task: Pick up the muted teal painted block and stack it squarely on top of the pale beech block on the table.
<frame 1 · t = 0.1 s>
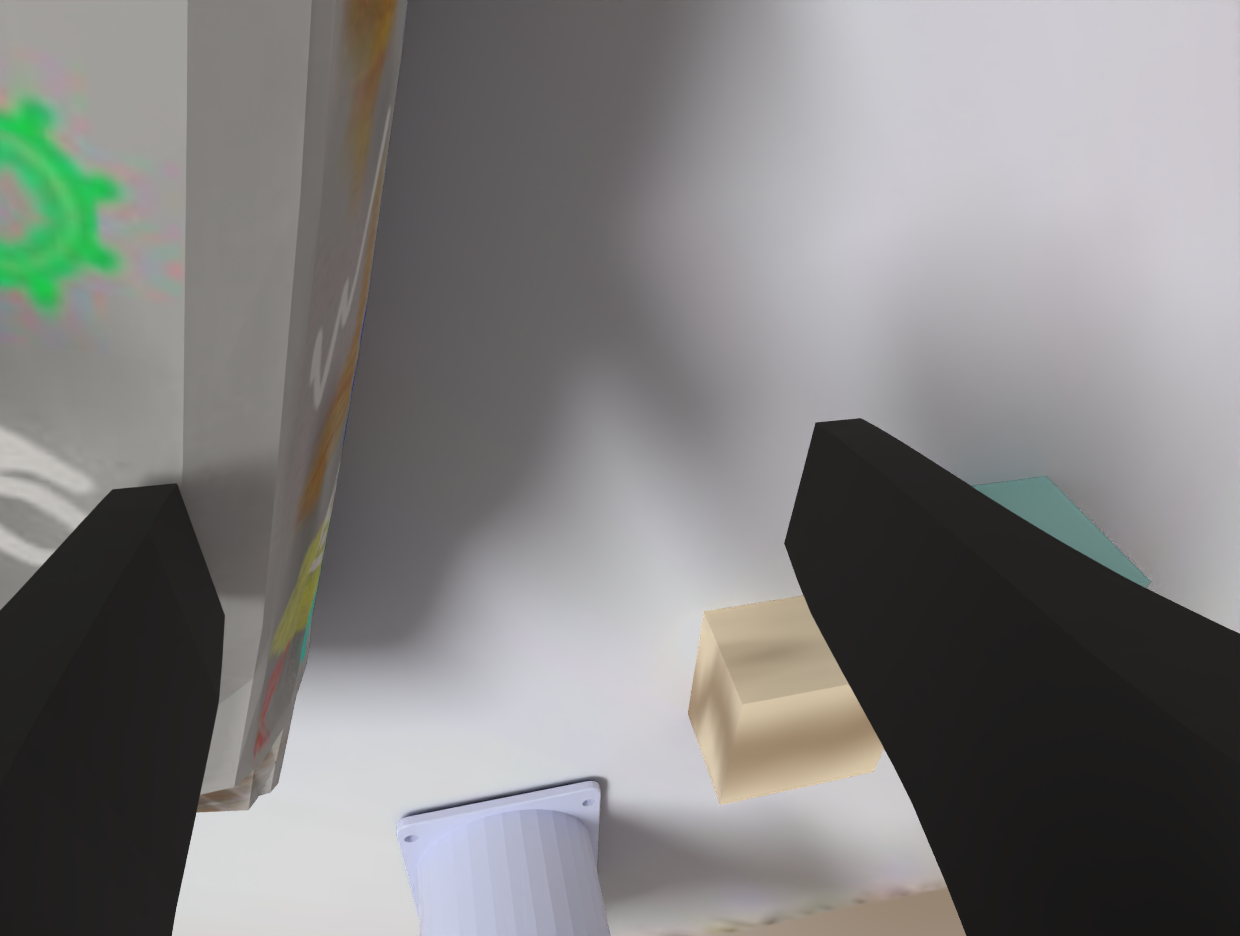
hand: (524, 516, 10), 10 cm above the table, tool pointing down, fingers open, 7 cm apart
beech block: (770, 648, 31), on the table
toy car: (73, 197, 16), on the table
teal block: (966, 531, 29), on the table
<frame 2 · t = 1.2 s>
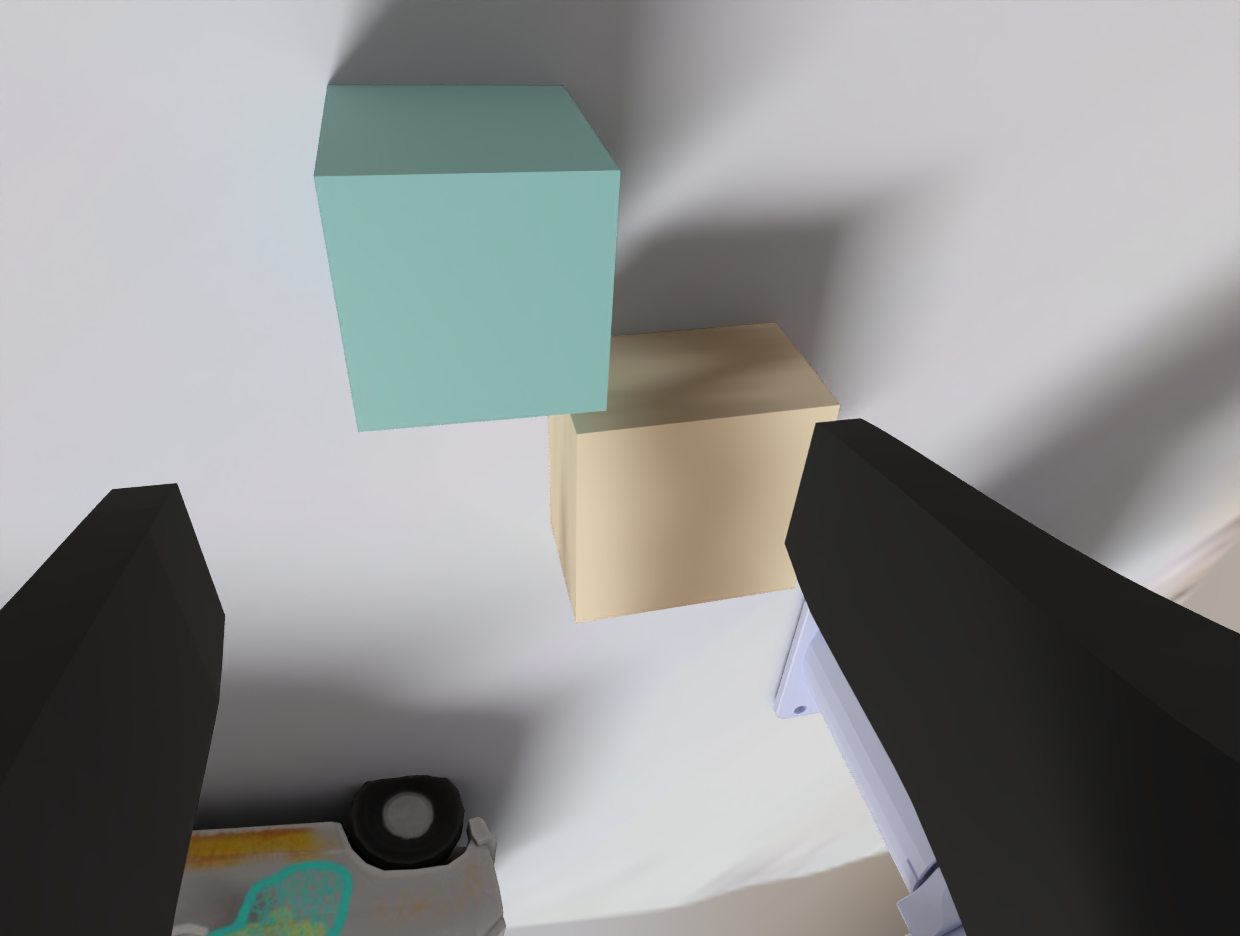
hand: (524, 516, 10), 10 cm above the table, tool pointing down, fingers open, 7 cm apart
beech block: (655, 424, 22), on the table
toy car: (139, 861, 30), on the table
teal block: (456, 198, 17), on the table
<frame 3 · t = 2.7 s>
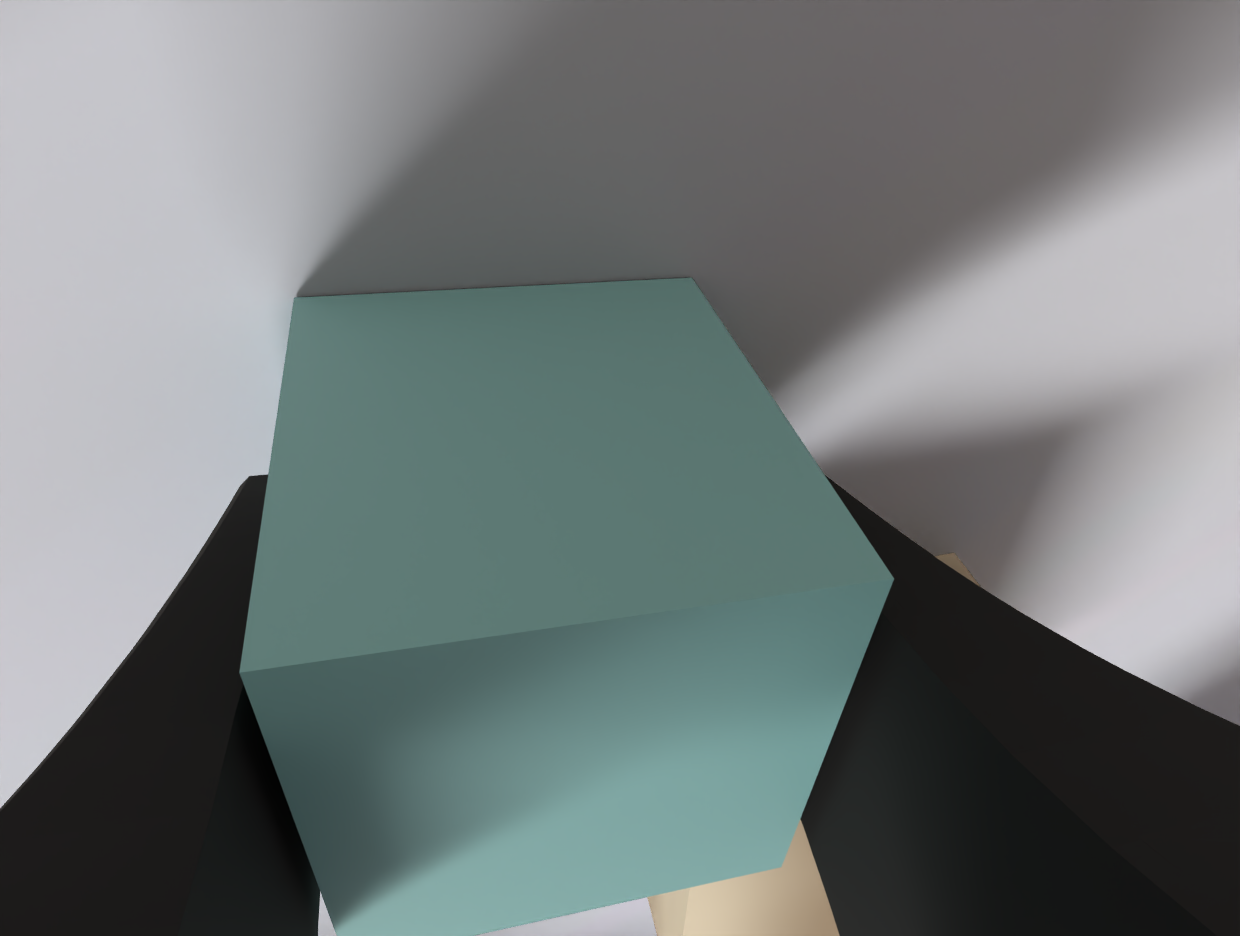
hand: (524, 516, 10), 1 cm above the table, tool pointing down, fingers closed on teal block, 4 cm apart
beech block: (770, 678, 16), on the table
teal block: (508, 444, 11), on the table, touching gripper
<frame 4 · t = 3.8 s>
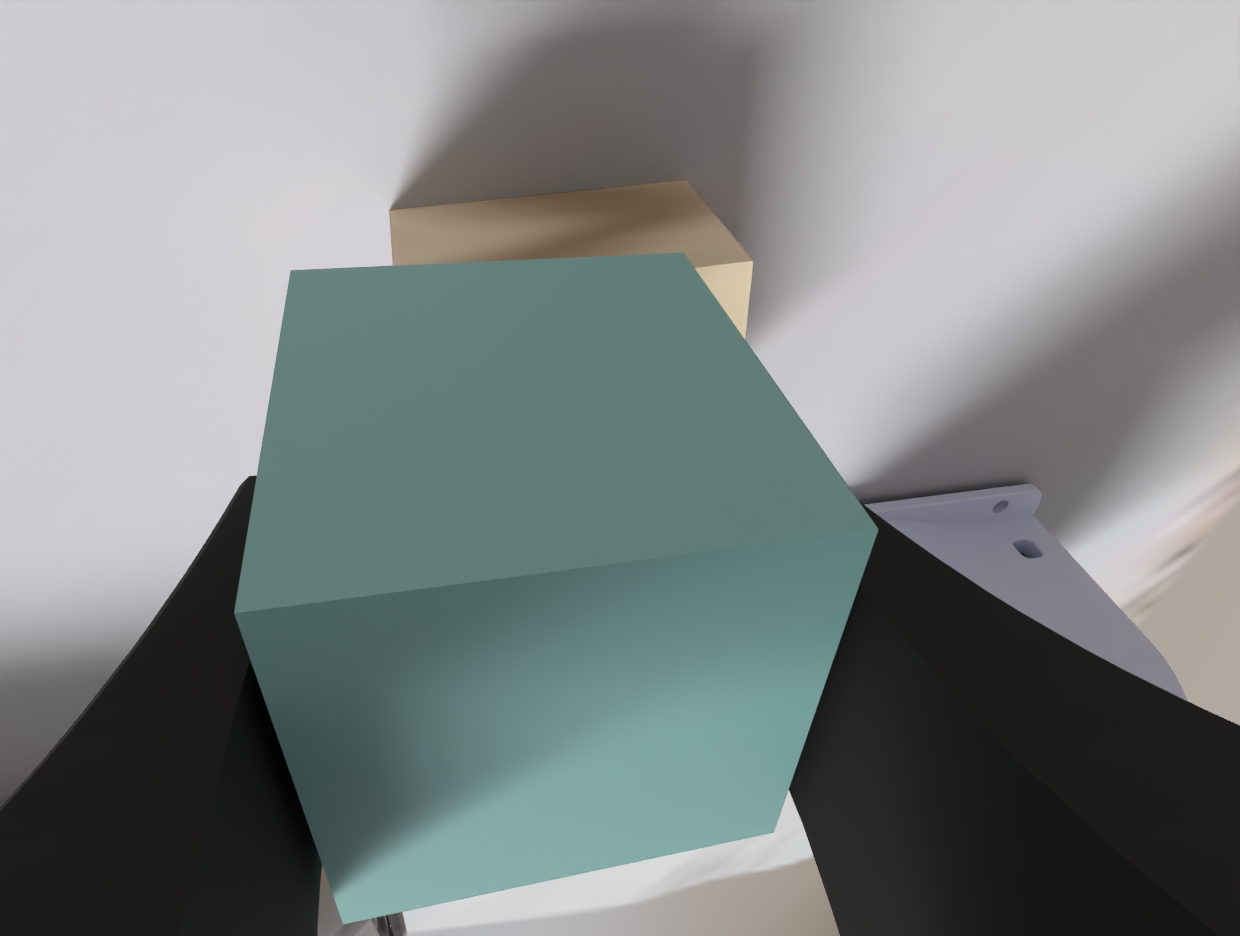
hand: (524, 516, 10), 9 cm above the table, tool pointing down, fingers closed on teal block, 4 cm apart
beech block: (550, 322, 18), on the table
toy car: (2, 880, 27), on the table
teal block: (503, 420, 11), point 7 cm above the table, touching gripper
when the fingers open (7 cm above the table, at t = 4.9 s): teal block drops 1 cm, resting on beech block.
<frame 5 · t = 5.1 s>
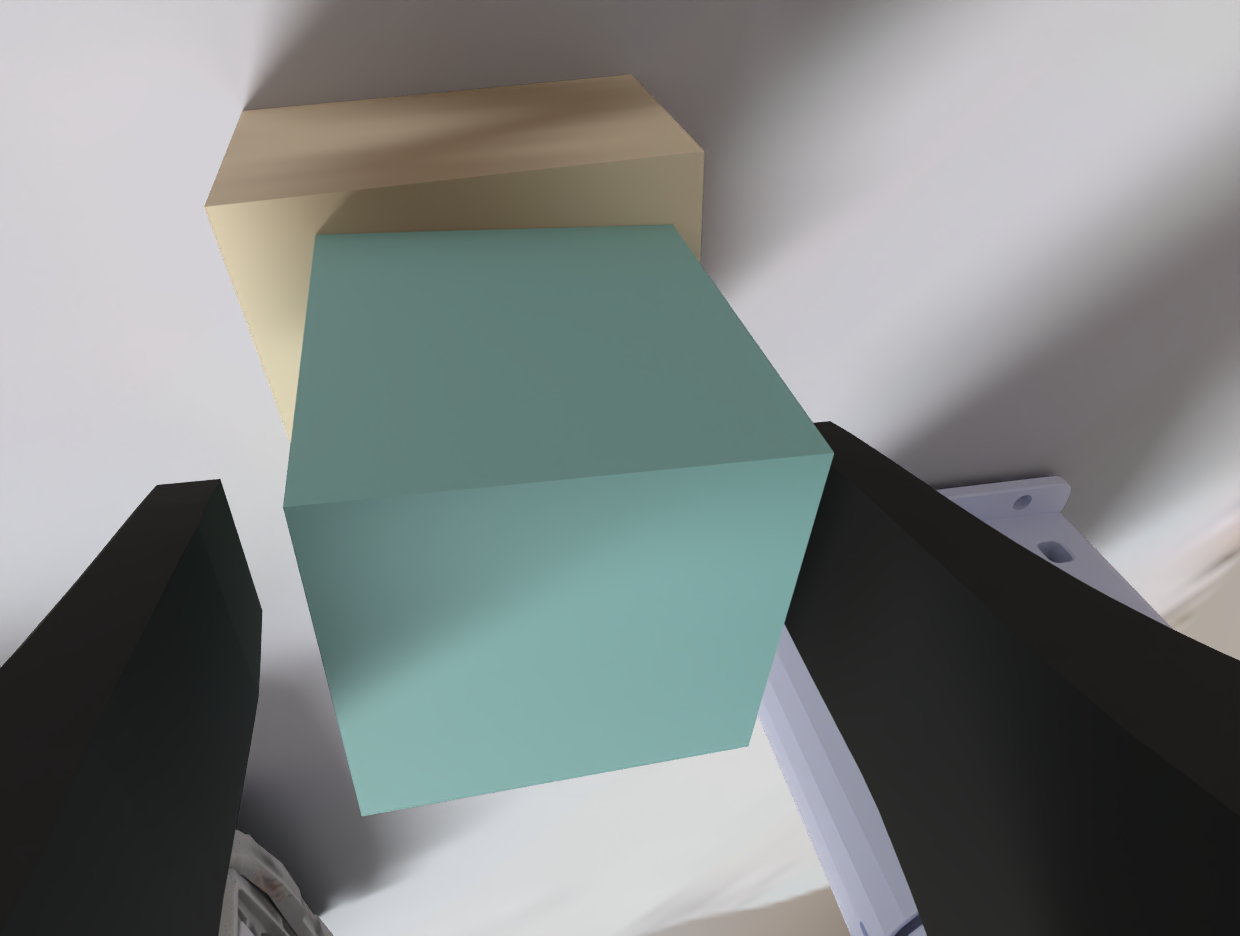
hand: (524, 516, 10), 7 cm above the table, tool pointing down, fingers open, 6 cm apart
beech block: (471, 265, 15), on the table, touching teal block
teal block: (506, 379, 12), point 4 cm above the table, touching beech block
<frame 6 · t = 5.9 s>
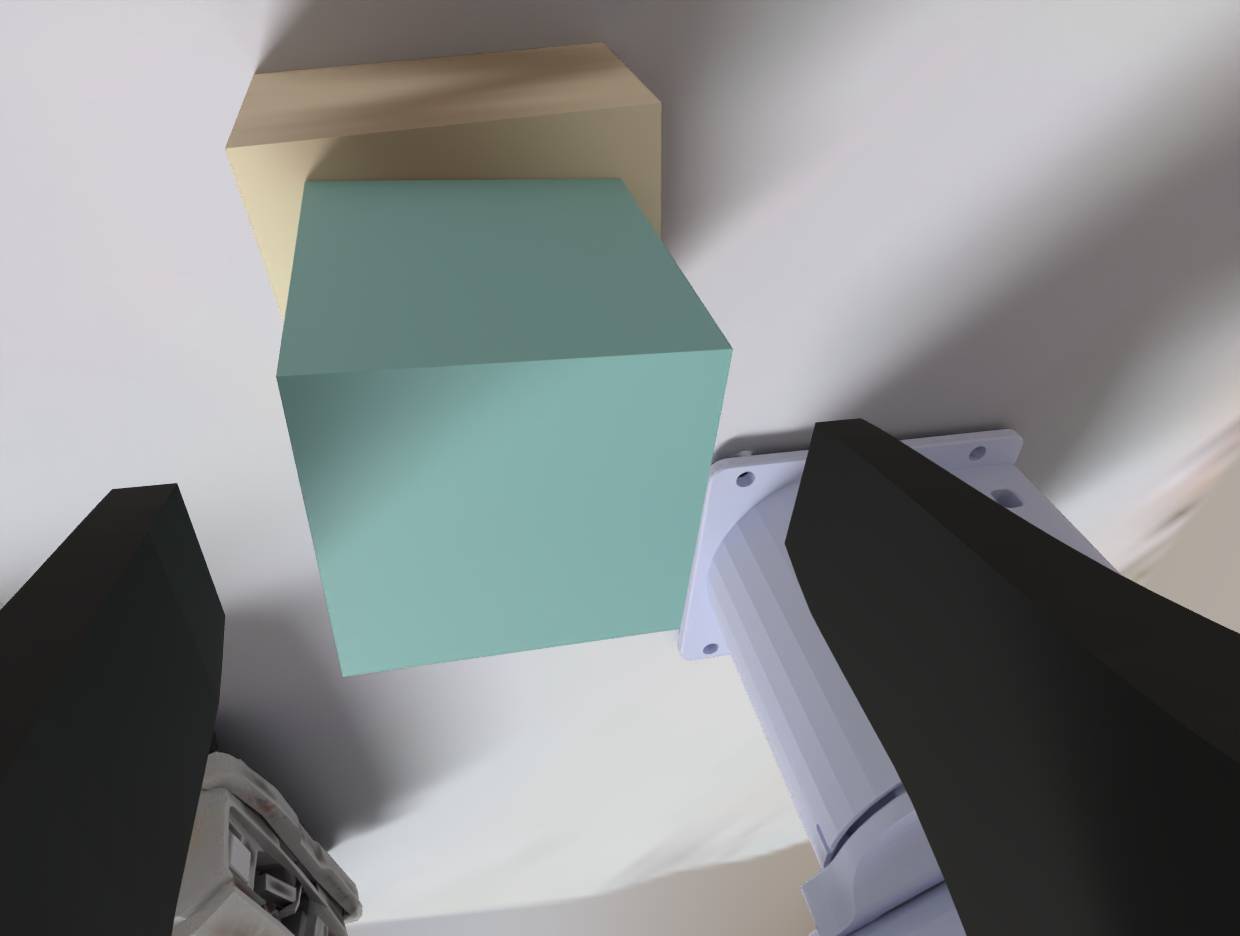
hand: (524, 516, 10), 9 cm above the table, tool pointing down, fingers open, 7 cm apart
beech block: (460, 219, 16), on the table
teal block: (475, 318, 13), point 4 cm above the table
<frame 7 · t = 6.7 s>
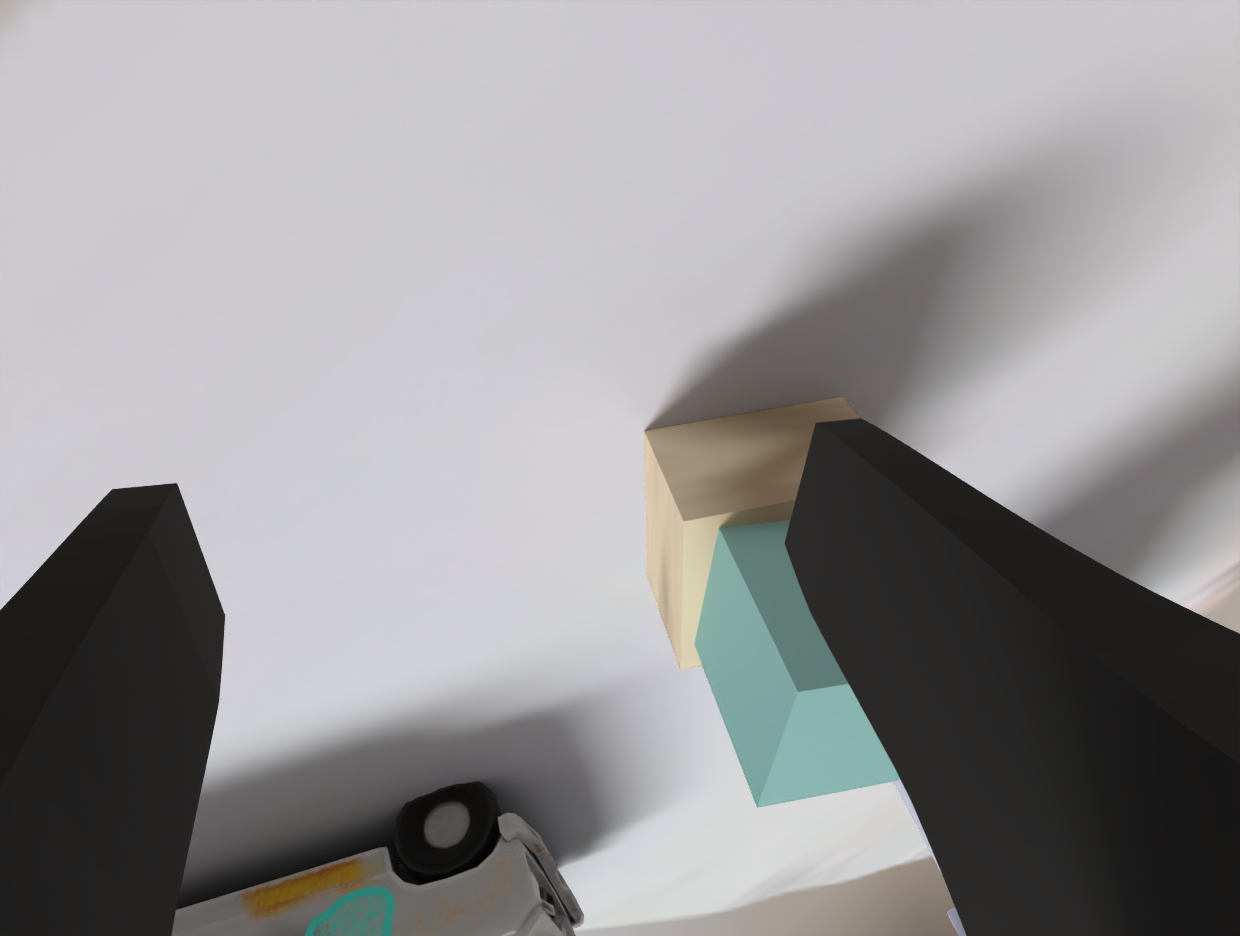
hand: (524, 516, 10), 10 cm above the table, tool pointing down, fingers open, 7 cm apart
beech block: (737, 487, 25), on the table, touching teal block
toy car: (272, 903, 35), on the table
teal block: (783, 579, 22), point 4 cm above the table, touching beech block
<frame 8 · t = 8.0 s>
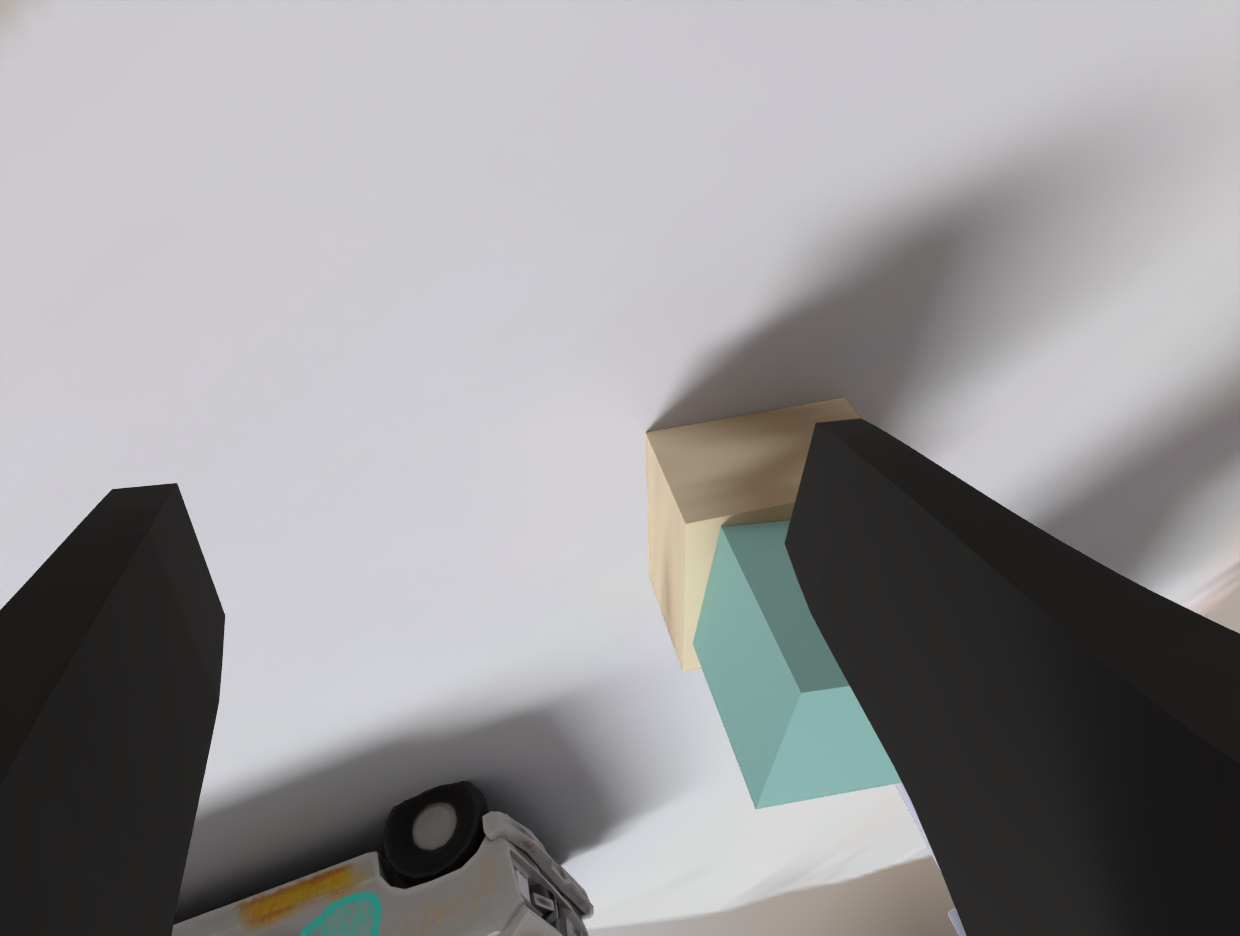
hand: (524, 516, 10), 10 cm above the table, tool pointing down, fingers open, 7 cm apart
beech block: (739, 489, 25), on the table
toy car: (283, 909, 35), on the table
teal block: (783, 580, 22), point 4 cm above the table
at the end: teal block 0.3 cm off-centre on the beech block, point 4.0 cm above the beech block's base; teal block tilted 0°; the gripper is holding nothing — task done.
